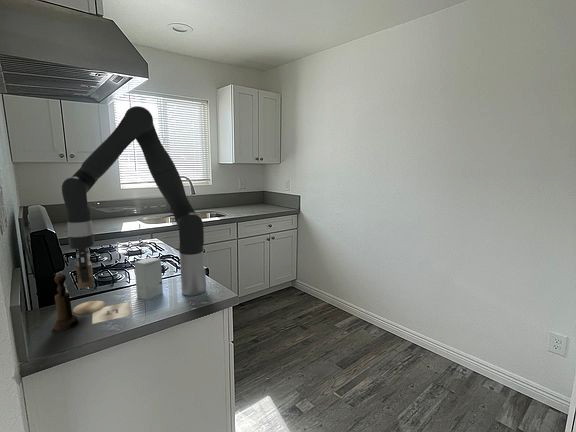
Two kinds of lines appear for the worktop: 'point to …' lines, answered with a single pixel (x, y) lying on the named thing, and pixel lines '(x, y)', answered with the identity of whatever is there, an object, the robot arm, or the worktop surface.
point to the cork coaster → (89, 307)
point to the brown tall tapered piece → (63, 307)
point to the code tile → (111, 312)
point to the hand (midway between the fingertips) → (85, 279)
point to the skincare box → (148, 278)
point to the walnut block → (80, 283)
